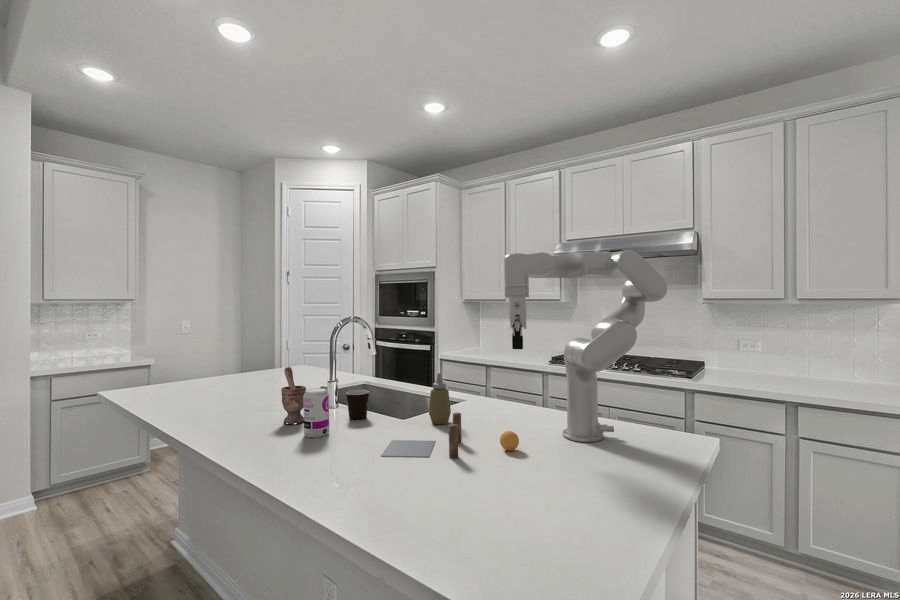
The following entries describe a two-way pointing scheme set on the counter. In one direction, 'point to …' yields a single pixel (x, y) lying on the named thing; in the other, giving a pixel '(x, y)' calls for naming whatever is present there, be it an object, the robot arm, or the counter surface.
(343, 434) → the counter surface
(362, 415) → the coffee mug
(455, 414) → the post
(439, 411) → the squeeze bottle
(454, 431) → the post
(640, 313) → the robot arm
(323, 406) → the supplement can
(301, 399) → the mortar and pestle
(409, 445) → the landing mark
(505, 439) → the ball
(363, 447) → the counter surface
